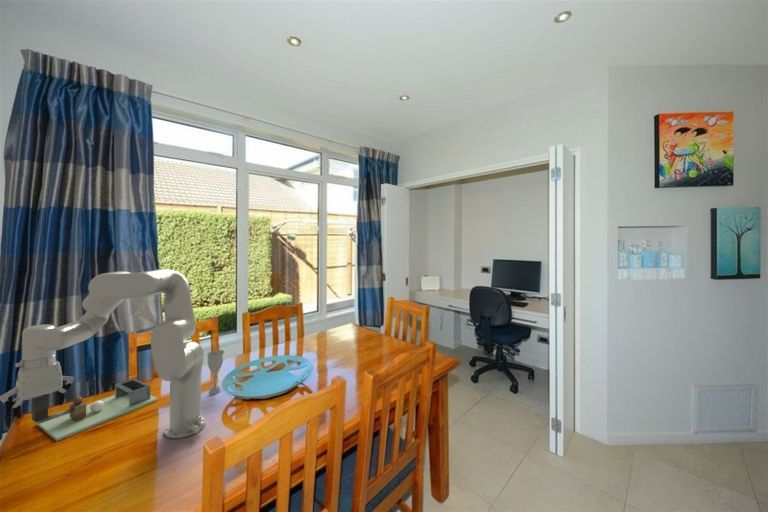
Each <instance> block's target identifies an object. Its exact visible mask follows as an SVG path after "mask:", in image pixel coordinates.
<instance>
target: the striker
mask: <svg viewBox="0 0 768 512" xmlns="http://www.w3.org/2000/svg"><path fill="white" fill-rule="evenodd" d="M86 405H87V403H85V402H84V398H83V397H82V396H76V397H74V399H73V400H72V403H70V404H69V408H67V409H65V410H61V411H58V412H55V413H52V414H50V415H49V397H48V396H47V395H42V396H39V397H35V398H32V399H31V420H32V421H33V422H34V423H36V424H37V423H38V424H40V423H43V422H46V421H49V420H52V419H55V418H57V417H60V416H63V415H66V414H69V413H70V418H72V419H73V420H74V421H77V420H80V419H82V418H85V417H86Z"/></svg>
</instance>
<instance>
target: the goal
mask: <svg viewBox="0 0 768 512" xmlns="http://www.w3.org/2000/svg"><path fill="white" fill-rule="evenodd" d="M127 394H129V406H132V405H135V404H137V403H140V402H142V401H145V400H148V399H150V395H151V384H147V383H145V382H143V381H141V380H139V379H136V378H132V379H129V380H126V381H123V382H120V383H119V382H116V383H115V384H114V395H115V398H118V397H121V396H124V395H127Z"/></svg>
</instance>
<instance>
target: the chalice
mask: <svg viewBox="0 0 768 512" xmlns="http://www.w3.org/2000/svg"><path fill="white" fill-rule="evenodd" d="M224 353H225V351H224V350H222V349H215V350H211V351H209V352H207V353H206V356H207V367H208V369H209V370H210V372H211V374H213V380H212V382H213V385H212V386H211V387H210V389H209V391H208V394H209V395H217V394H219V393H220V391H222V389H221V385H218V384H217V382H218V380H217V378H218V376H217V374H218V373H219V371H220V370H221V369H222V366H223V363H224ZM216 393H217V394H216Z"/></svg>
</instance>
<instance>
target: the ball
mask: <svg viewBox="0 0 768 512" xmlns="http://www.w3.org/2000/svg"><path fill="white" fill-rule="evenodd" d="M91 403H92V404H91ZM91 403H90V404H91V406H90V410H91V411H93V412H98V411H100V410H101V409H102V408H103V407H104V402H103V401H99V400H96V401H94V402H91Z"/></svg>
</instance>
